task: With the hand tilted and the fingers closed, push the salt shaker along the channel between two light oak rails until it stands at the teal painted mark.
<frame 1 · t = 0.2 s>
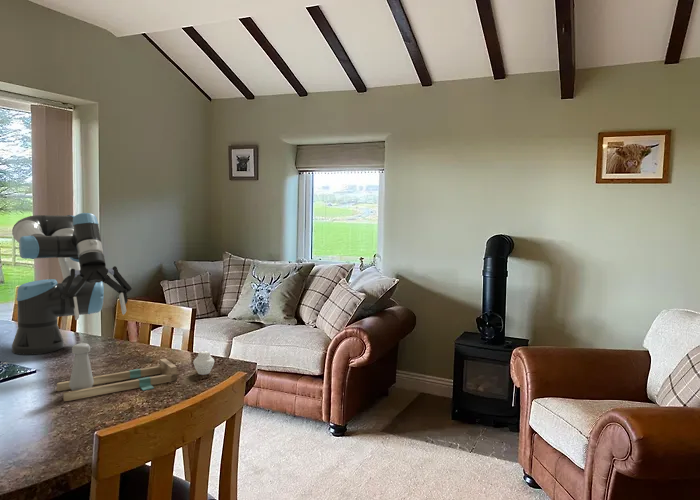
hand: (101, 315, 162), 16 cm above the table, tool tilted 35°, fingers open, 13 cm apart
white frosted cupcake: (203, 373, 157), on the table
salt shaker: (81, 392, 139), resting in guide rails
guide rails: (119, 385, 145), on the table
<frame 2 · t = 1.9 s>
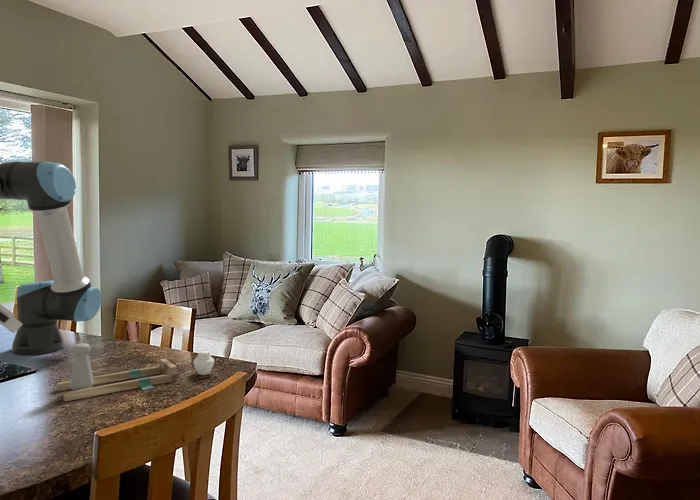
hand: (14, 323, 128), 20 cm above the table, tool tilted 45°, fingers open, 13 cm apart
nothing on the table moved.
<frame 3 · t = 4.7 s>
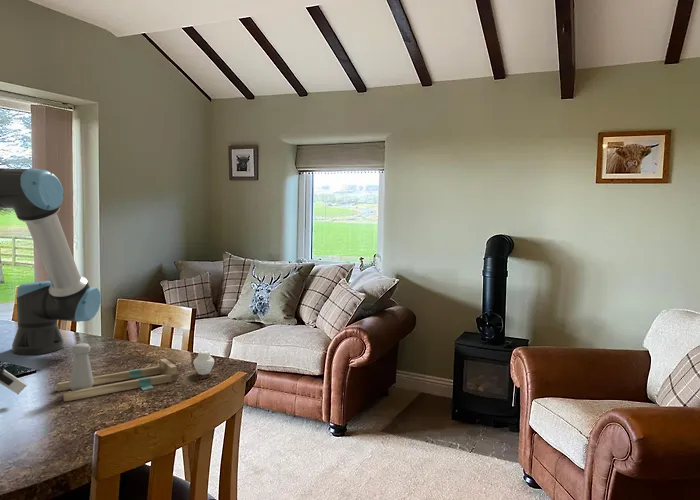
hand: (21, 389, 130), 3 cm above the table, tool tilted 45°, fingers closed
nothing on the table moved.
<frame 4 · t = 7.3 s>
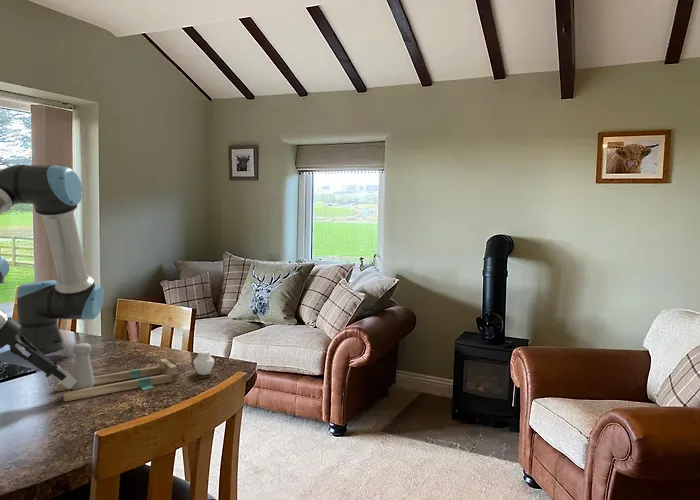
hand: (73, 384, 135), 3 cm above the table, tool tilted 45°, fingers closed
salt shaker: (82, 392, 139), resting in guide rails, touching gripper
everything else where it was.
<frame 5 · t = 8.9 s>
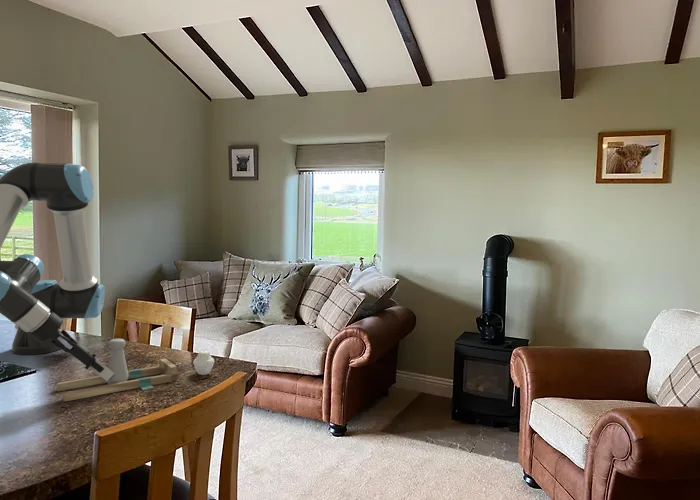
hand: (110, 376, 141), 3 cm above the table, tool tilted 45°, fingers closed
salt shaker: (117, 385, 145), resting in guide rails, touching gripper
everything else where it was.
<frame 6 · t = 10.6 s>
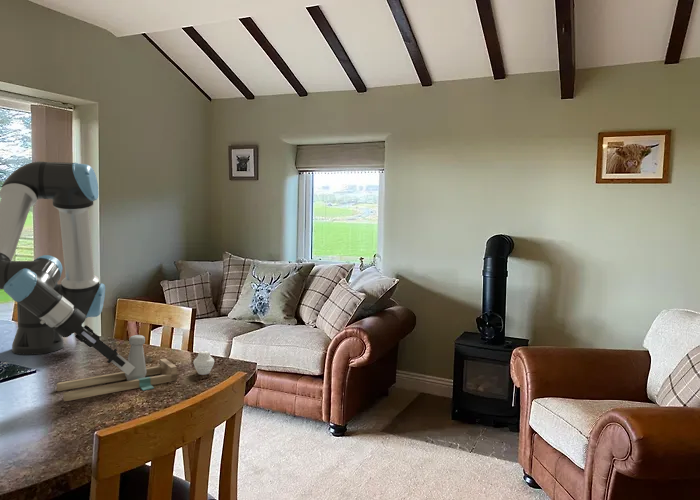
hand: (131, 370, 145), 4 cm above the table, tool tilted 45°, fingers closed
salt shaker: (135, 381, 148), resting in guide rails, touching gripper
everything else where it was.
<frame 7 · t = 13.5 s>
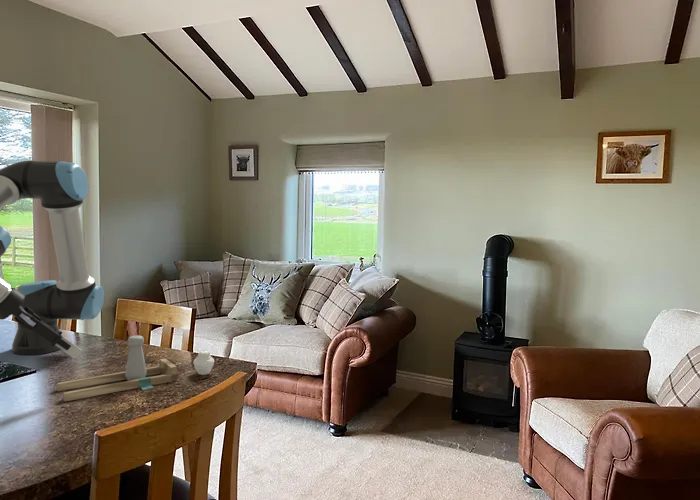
hand: (77, 354, 137), 11 cm above the table, tool tilted 45°, fingers closed
salt shaker: (135, 381, 149), resting in guide rails
everything else where it was.
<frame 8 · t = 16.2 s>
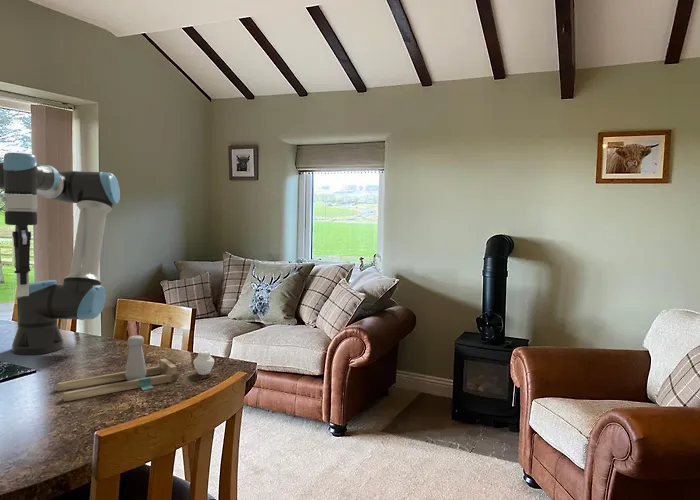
hand: (23, 295, 143), 24 cm above the table, tool pointing down, fingers closed
nothing on the table moved.
at the end: salt shaker inside the target area (1.1 cm from its centre), resting in guide rails; salt shaker tilted 0° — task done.
